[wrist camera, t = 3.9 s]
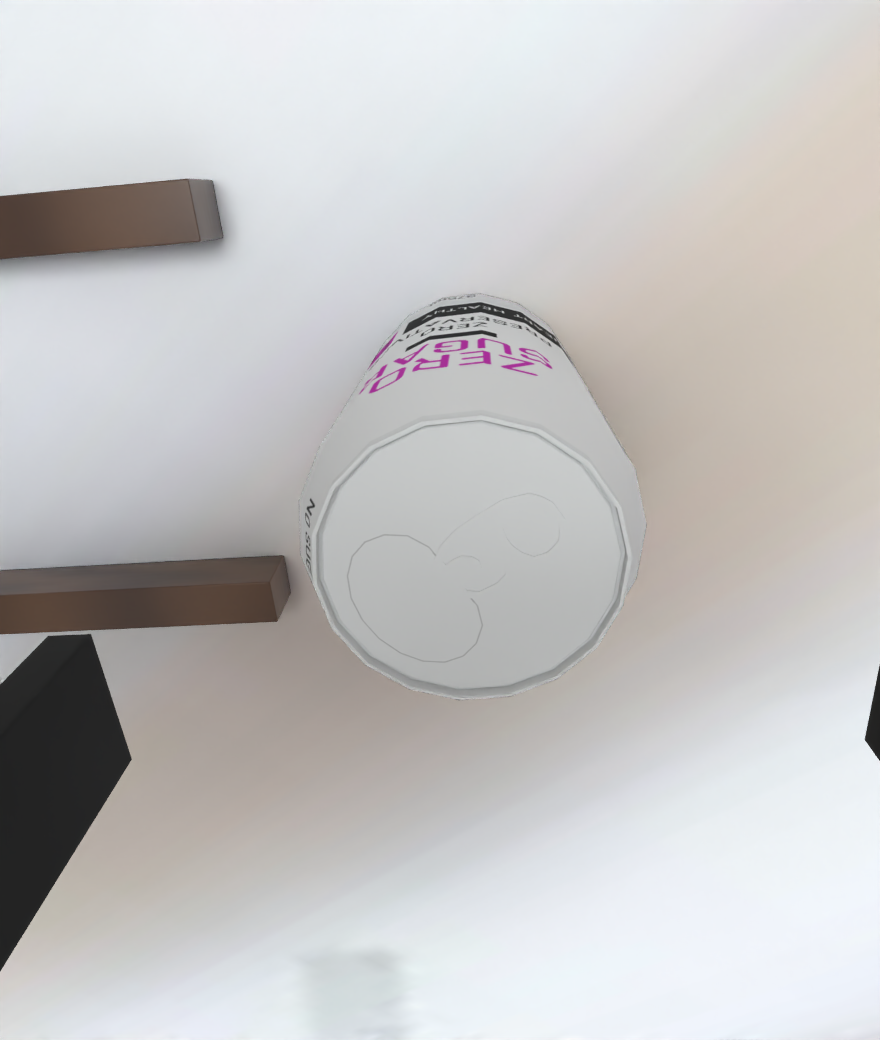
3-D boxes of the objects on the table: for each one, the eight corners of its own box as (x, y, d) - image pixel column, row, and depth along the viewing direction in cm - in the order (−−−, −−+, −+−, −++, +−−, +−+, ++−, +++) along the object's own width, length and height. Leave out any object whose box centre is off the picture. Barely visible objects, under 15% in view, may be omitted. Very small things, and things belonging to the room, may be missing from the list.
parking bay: (5, 607, 35) (-28, 636, 32) (-144, 212, 28) (-200, 214, 25) (291, 593, 34) (277, 622, 31) (212, 180, 26) (188, 178, 24)
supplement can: (452, 524, 32) (434, 771, 18) (331, 373, 29) (205, 529, 16) (611, 418, 30) (729, 611, 16) (495, 246, 27) (516, 297, 13)
